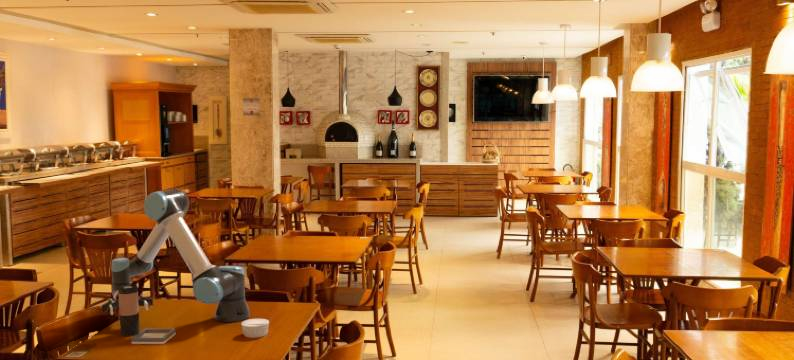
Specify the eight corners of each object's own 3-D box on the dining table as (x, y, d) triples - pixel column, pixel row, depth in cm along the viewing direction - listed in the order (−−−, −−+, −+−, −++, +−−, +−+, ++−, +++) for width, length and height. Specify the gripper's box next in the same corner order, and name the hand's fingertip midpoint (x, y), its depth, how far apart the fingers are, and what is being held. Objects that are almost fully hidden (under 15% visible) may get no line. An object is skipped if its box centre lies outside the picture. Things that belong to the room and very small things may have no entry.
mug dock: (175, 334, 300) (175, 328, 300) (163, 343, 287) (163, 338, 287) (145, 334, 301) (144, 328, 301) (131, 343, 288) (131, 338, 288)
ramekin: (246, 340, 290) (245, 327, 290) (238, 333, 300) (237, 320, 300) (273, 336, 295) (272, 323, 295) (264, 329, 305) (264, 316, 305)
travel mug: (133, 336, 298) (131, 288, 296) (116, 336, 299) (114, 288, 298) (143, 331, 305) (141, 284, 303) (127, 330, 307) (124, 283, 305)
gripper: (154, 303, 323) (161, 314, 304) (93, 310, 312) (97, 322, 293) (153, 286, 322) (161, 296, 304) (92, 293, 312) (96, 304, 293)
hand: (129, 309), depth 298 cm, fingers open, 13 cm apart
